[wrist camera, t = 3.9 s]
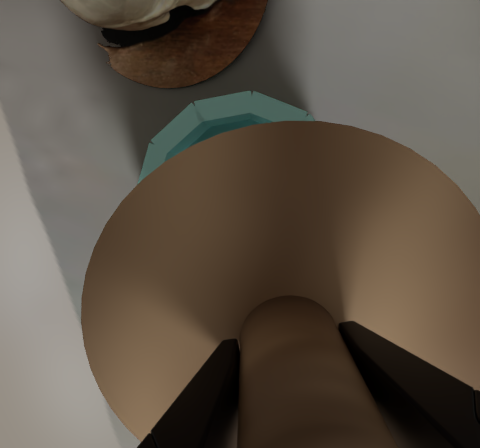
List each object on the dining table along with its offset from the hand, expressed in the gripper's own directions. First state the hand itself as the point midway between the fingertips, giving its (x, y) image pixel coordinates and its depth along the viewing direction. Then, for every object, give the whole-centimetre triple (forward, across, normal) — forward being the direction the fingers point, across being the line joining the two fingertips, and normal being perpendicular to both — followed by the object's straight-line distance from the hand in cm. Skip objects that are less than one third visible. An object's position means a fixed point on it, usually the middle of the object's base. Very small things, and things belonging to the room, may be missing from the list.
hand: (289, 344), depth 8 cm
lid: (+1, 0, 0) cm, 1 cm away
